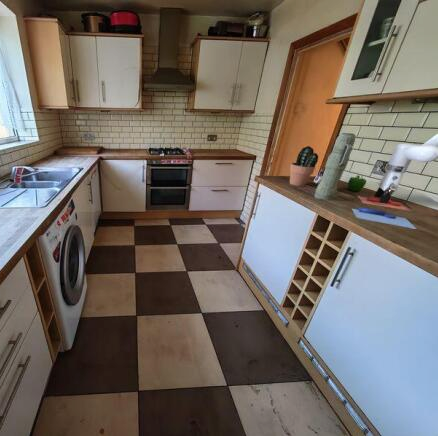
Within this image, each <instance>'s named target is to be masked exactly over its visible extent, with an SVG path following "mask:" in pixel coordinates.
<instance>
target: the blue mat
mask: <svg viewBox="0 0 438 436" xmlns="http://www.w3.org/2000/svg"><path fill="white" fill-rule="evenodd" d="M351 210H352V212H353V214H354V215H355V217H356V219H362V220H367V221H371V222H376V223H377V222H378V223H383V224H388V225H393V226H398V227H403V228H409V229H414V230H417V227H415V226H414V224H412V223H411V222H410V221H409V220H408V219H407V218H406V217H403V216H402V217H401V216H396V218H395V219H391V218H387V217H384V216H381V215H376V214H370V213H364V212H360V211H358V209H357V208H351Z"/></svg>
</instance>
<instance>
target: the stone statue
mask: <svg viewBox="0 0 438 436" xmlns="http://www.w3.org/2000/svg"><path fill="white" fill-rule="evenodd" d="M355 143H356V134H354V133H350V132H342V133H340V134H339V135H338V136H337V138H336V139H335V143H334V144H333V149H332V151H331V152H330V154H329V155H328V157H327V161H326V162H325V166H324V171H323V173H322V177H321V179H320V182H319V183H318V184H317V187H316V189H315V191H314V192H315V193H314V199H317V200H323V201H333V199H334V197H335V196H336V193H337V191H338V185H339V182H340V180H341V178H342V175H343V172H344V171H345V170H346V168H347V166H348V163H349V161H350V155H351V151H352V149H353V147H354V144H355Z"/></svg>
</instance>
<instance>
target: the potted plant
mask: <svg viewBox="0 0 438 436" xmlns="http://www.w3.org/2000/svg"><path fill="white" fill-rule="evenodd" d="M318 162H319V155H318V154H317V152H314V148H313V147H311V146H310V145H307V146H304V147H302V148H301V150H300V151H299V152H298V154H297V157H296V161H295V162H291V164H290V168H289V172H290V173H289V184H290V185H291V186H295V187H305V185H306V184H307V182H308V181H309V179H310V177H311V175H313V174H314V172H315V169H316V165H317V163H318Z"/></svg>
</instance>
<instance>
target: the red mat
mask: <svg viewBox="0 0 438 436" xmlns="http://www.w3.org/2000/svg"><path fill="white" fill-rule="evenodd" d="M357 198H358V199H359V201H360V202H361V203H363V204H367V205H373V206H379V207H386V208H391V209H396V210H397V209H398V210H403V211H409V212H414V210H413V209H412V208H411V207H409V205H407V204H406V203H405V202H398V201H396V202H397V203H400V204H401V205H400V206H393V205H390V204H386V203H380V202H373V201H368V200H367V198H368V197H366V196H359V195H357Z"/></svg>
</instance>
